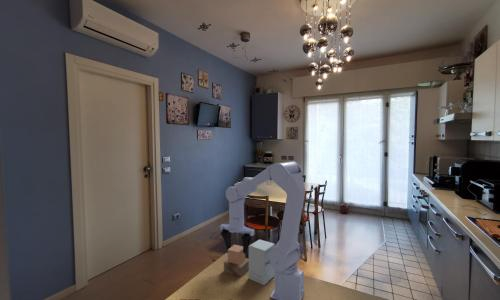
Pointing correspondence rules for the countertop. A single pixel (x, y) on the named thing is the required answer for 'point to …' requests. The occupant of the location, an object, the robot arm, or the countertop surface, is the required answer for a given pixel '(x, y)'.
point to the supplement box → (261, 261)
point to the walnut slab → (236, 267)
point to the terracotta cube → (236, 254)
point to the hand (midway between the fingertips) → (236, 250)
